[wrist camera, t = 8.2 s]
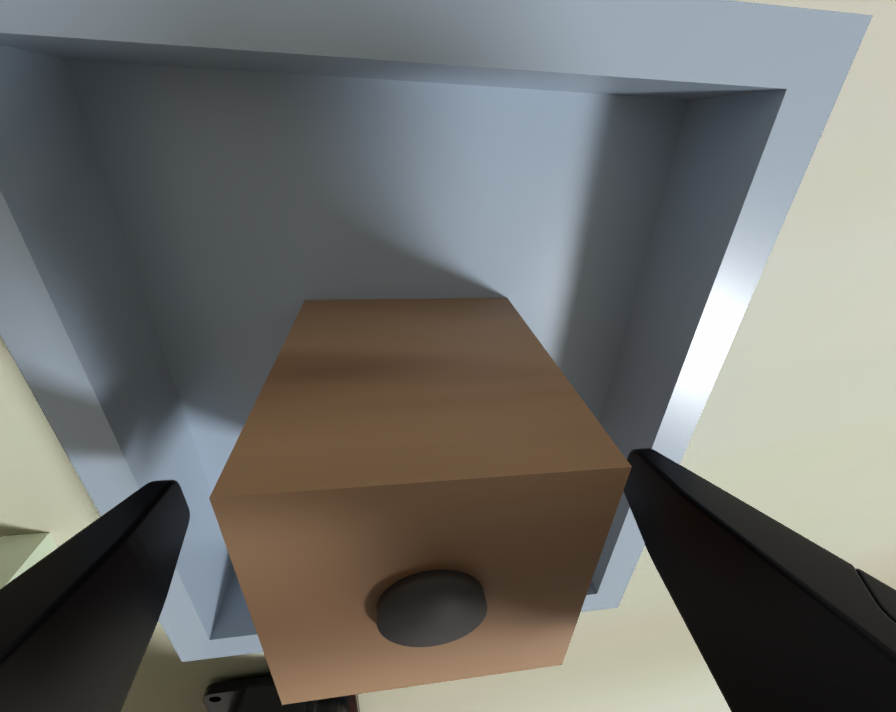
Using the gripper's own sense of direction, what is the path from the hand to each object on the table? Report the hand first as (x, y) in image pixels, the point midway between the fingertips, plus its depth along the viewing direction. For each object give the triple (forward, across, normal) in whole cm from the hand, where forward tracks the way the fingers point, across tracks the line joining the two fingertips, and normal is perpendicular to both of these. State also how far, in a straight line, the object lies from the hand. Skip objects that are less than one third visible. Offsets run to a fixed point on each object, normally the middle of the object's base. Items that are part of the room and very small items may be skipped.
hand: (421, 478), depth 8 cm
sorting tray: (+4, 0, 0) cm, 4 cm away
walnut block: (+4, 0, 0) cm, 4 cm away
